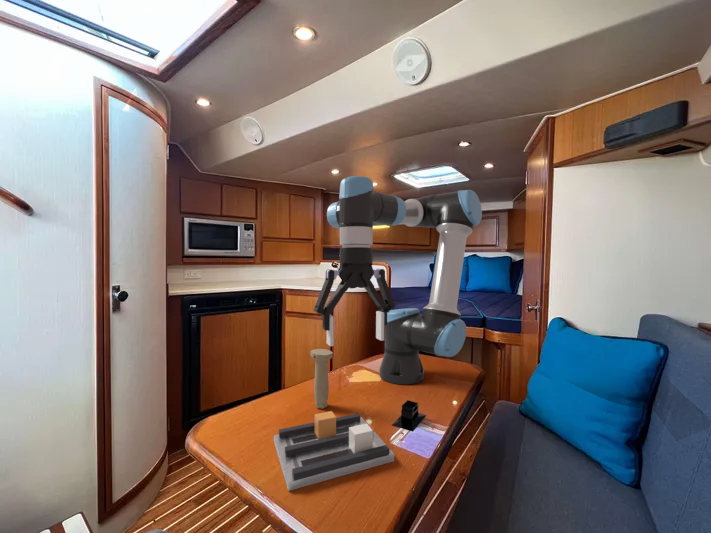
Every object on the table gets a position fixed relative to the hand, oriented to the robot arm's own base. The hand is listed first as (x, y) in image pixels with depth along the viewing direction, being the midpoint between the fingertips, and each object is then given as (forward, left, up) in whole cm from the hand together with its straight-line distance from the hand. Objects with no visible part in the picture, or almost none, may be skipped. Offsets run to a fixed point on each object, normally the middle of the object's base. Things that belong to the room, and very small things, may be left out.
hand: (355, 342), depth 73 cm
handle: (+3, -16, -21) cm, 27 cm away
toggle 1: (+7, 0, -20) cm, 21 cm away
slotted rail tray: (+7, +4, -20) cm, 21 cm away
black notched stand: (-15, 0, -22) cm, 27 cm away
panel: (+7, +4, -21) cm, 23 cm away
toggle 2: (+2, +8, -20) cm, 21 cm away
